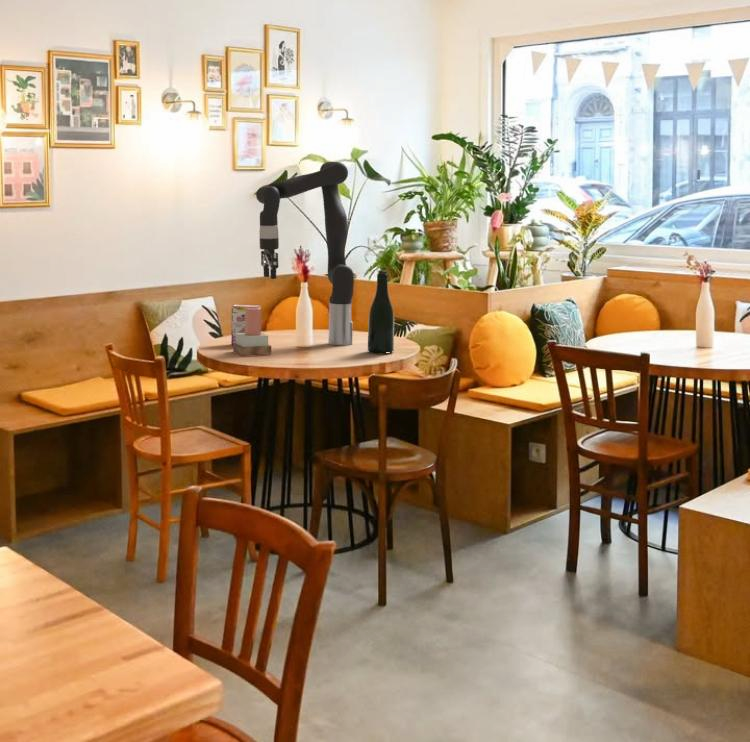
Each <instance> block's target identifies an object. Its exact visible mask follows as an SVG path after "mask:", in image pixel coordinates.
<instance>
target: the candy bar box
mask: <svg viewBox="0 0 750 742" xmlns="http://www.w3.org/2000/svg"><path fill="white" fill-rule="evenodd" d="M261 307H262V306H261V305H251V304H250V305H249V304H246V305H245V304H233V305H232V306H231V343H230V344H231V346H233V343H236V333H245V308H258V309H261Z"/></svg>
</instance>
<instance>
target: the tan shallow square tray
mask: <svg viewBox="0 0 750 742" xmlns="http://www.w3.org/2000/svg"><path fill="white" fill-rule="evenodd" d="M232 349H233V350H232V351H234V353H235V352H236V353H235V354H237V353H238V354H239V356H240V355H241V356H240V357H254V356H255V355H256V356H257V355H261V356H272V345H270V344H268V346H254V347H243V346H241V345H238V344H236V343H233V345H232ZM238 354H237V355H238ZM250 355H251V356H250ZM252 355H254V356H252ZM256 356H255V357H256ZM257 357H258V356H257Z"/></svg>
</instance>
